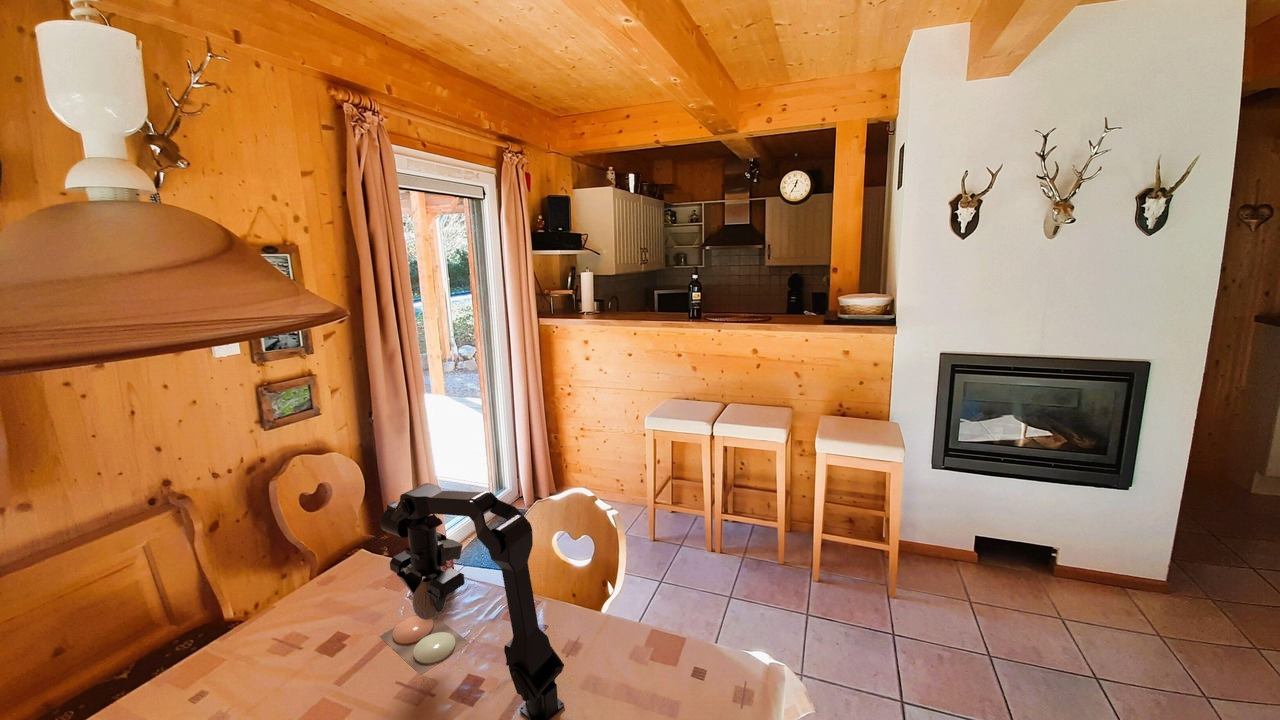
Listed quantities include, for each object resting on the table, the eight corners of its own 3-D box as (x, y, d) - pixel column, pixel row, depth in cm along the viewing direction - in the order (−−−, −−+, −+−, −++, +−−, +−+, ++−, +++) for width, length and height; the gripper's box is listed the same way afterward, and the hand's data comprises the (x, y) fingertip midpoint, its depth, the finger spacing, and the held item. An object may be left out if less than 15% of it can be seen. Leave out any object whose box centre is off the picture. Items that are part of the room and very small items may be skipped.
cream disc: (463, 645, 120) (463, 643, 120) (426, 670, 113) (426, 667, 113) (442, 629, 126) (441, 626, 125) (405, 651, 119) (405, 649, 119)
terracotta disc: (440, 627, 126) (440, 625, 126) (404, 650, 119) (404, 647, 119) (421, 612, 131) (421, 610, 131) (385, 632, 125) (385, 630, 124)
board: (469, 646, 121) (469, 642, 121) (421, 679, 112) (420, 675, 112) (426, 612, 133) (426, 609, 133) (379, 639, 124) (379, 636, 124)
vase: (426, 601, 120) (422, 568, 119) (453, 605, 119) (450, 571, 117) (407, 622, 114) (403, 587, 112) (436, 626, 112) (432, 590, 111)
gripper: (482, 537, 114) (486, 599, 118) (429, 514, 124) (434, 572, 128) (438, 562, 105) (444, 629, 109) (385, 535, 115) (392, 597, 118)
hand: (429, 605), depth 116 cm, fingers closed on vase, 7 cm apart
